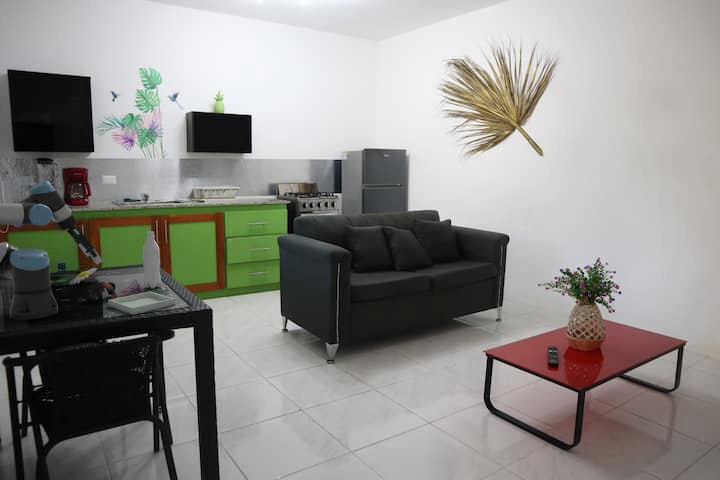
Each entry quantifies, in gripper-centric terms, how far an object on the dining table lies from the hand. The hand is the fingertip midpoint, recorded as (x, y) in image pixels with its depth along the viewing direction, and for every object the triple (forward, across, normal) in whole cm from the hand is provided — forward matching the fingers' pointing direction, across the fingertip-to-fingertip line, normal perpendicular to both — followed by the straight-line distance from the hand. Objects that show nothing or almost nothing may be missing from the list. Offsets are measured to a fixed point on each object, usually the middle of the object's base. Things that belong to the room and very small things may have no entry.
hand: (94, 258), depth 217 cm
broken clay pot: (+12, -12, +7) cm, 19 cm away
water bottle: (+24, -4, -12) cm, 27 cm away
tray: (+15, -31, -1) cm, 35 cm away
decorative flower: (+11, +24, +16) cm, 31 cm away
